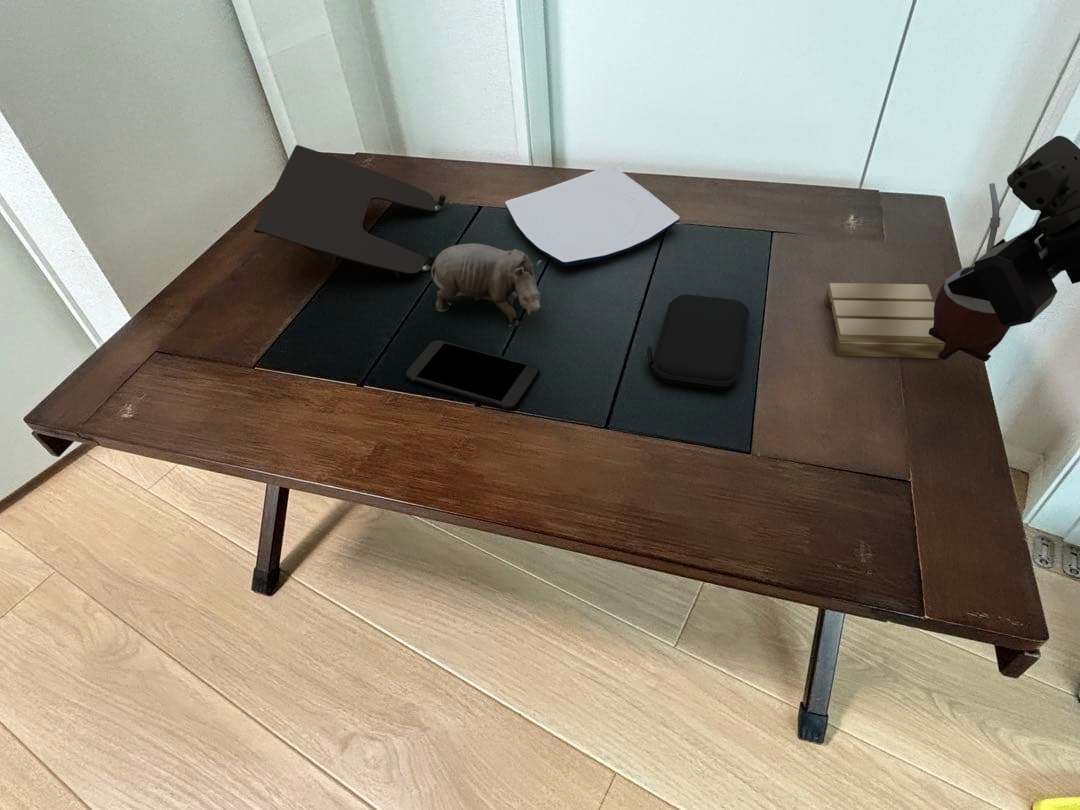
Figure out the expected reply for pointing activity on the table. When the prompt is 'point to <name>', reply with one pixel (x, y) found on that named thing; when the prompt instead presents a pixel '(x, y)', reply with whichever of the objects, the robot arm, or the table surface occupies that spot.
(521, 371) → the smartphone
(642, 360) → the table surface
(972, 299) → the mate gourd
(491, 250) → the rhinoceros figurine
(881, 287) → the rack
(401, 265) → the laptop tray
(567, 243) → the plate
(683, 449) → the table surface
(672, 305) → the carrying case
